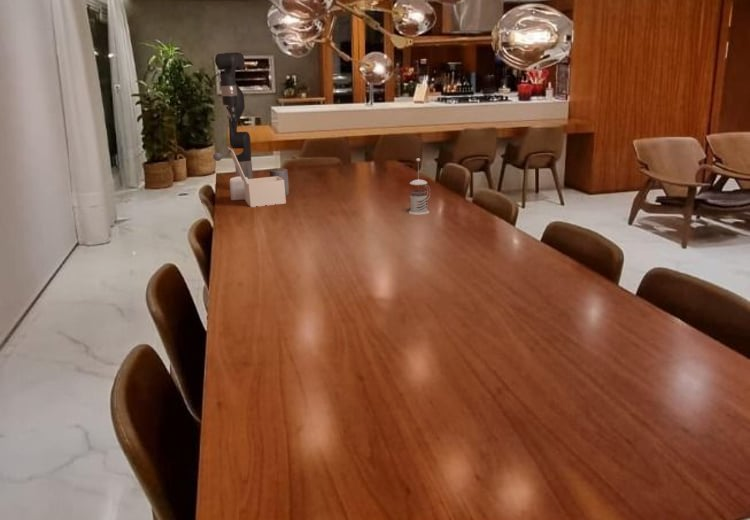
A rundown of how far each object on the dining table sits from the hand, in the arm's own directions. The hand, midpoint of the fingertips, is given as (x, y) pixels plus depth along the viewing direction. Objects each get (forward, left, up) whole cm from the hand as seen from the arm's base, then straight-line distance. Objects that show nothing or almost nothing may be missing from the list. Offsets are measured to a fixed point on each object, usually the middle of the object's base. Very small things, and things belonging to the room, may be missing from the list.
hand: (232, 127), depth 325 cm
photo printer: (-4, +1, -38) cm, 39 cm away
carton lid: (+12, -1, -17) cm, 21 cm away
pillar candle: (-6, +23, -38) cm, 45 cm away
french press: (+72, +71, -38) cm, 108 cm away
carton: (+12, +11, -38) cm, 41 cm away
